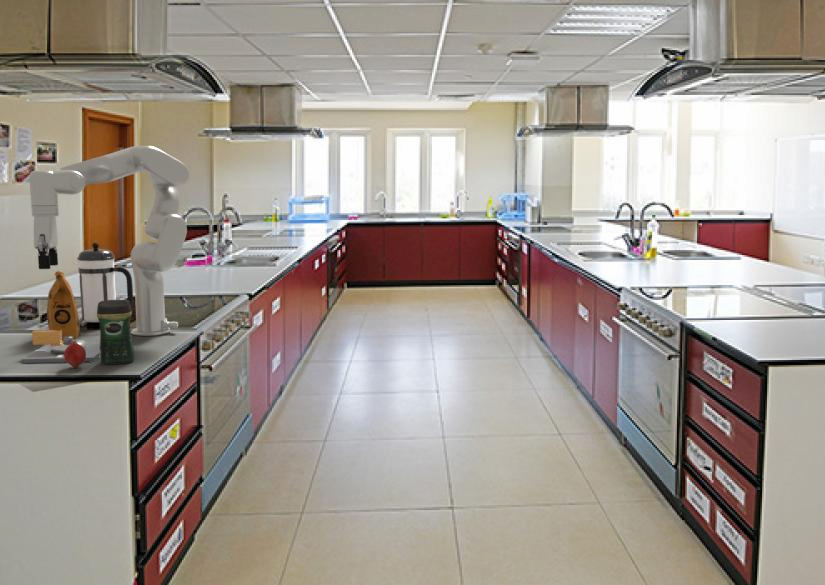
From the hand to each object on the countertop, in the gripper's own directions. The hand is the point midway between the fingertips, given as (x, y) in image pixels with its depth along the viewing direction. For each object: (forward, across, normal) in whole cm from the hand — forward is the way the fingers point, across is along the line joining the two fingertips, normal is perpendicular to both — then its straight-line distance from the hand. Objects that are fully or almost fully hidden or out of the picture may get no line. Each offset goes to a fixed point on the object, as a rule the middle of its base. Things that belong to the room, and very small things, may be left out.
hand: (48, 267), depth 245 cm
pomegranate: (+27, +25, +12) cm, 38 cm away
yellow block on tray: (+25, +8, +4) cm, 26 cm away
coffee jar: (+27, +20, +22) cm, 40 cm away
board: (+26, +8, +6) cm, 28 cm away
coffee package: (+27, -21, -2) cm, 34 cm away
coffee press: (+26, -43, +7) cm, 51 cm away
